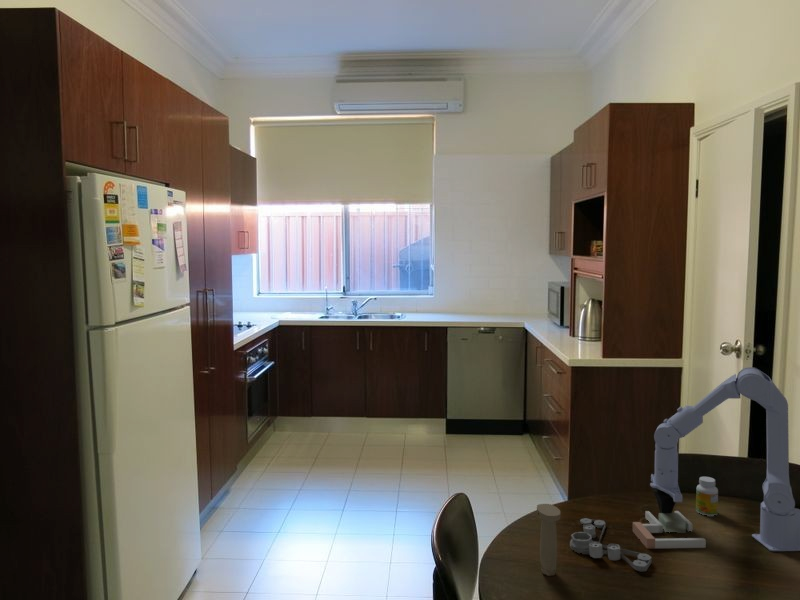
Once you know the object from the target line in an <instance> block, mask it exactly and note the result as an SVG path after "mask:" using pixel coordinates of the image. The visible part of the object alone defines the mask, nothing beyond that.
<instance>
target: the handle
mask: <svg viewBox="0 0 800 600" xmlns="http://www.w3.org/2000/svg"><path fill="white" fill-rule="evenodd" d="M536 515H537V517H538V518H539V519H540V520H541V521H540V535H539V537H540V538H539V539H540V541H539V558H540V559H539V560H540V561H539V562H540V566H541V568H540V569H541V573H542V574H543V575H546V576H547V577H551V576H555V575H556V569H557V563H558V540H557V539H558V538H557V522H559V520H561V510H560V509H559V508H558V507H557V506H555V505H553V504H551V503H540V504H537V505H536Z"/></svg>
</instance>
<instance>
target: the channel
mask: <svg viewBox="0 0 800 600" xmlns="http://www.w3.org/2000/svg"><path fill="white" fill-rule="evenodd" d="M673 513H678V514H679V515H680V516H681V517H682V518H683V519H684V520H685V521H686V531H687V532H689V531H691V532H693V526H694V525H693V523H692V522H691V521H690V520H689V519H688V518H687V517H685V516H684V515H683V514H682V513H681V512H680V511H679V510H674V512H673ZM644 516H645V517H644V518H645V520H646V521H647V520H648V521H649V522H648V523H642V525H643V526H644V527H645V528H646V529H647V530H648V531H649V532H650V533H651V534H662V533H664V530H663V525H662V524H661V523H660V522H659V519H658V518H656V517H655V516H654V514H653V513H652V512H650V511H649V510H645V515H644ZM706 543H707V540H706V539H705V538H704V537H687V538H685V537H679V538H677V537H676V538H675V537H673V538H668V537H667V538H666V537H665V538H655V548H654V549H706V548H707V547H706V546H707V545H706Z"/></svg>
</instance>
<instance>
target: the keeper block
mask: <svg viewBox="0 0 800 600" xmlns="http://www.w3.org/2000/svg"><path fill="white" fill-rule="evenodd" d="M658 521H659V522H660V523H661V524H662V525H663V529H664V530H663V532H665V533H666V532H669V533H670V532H677V534H678V533H679V534H680V533H681V534H686V533H687V529H686V521H685V520H684V519H683V518H682V517H681V516H680V515H679V514H678V513H674V512H672V513H660V512H659V513H658Z"/></svg>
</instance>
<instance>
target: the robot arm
mask: <svg viewBox="0 0 800 600" xmlns="http://www.w3.org/2000/svg"><path fill="white" fill-rule="evenodd" d="M741 396H743V397H745V398H747V399H748V400H749V399H750V400H751V401H755V402H756V403H757V404H759V405H760V406H761V407H762V408H763V409H765V413H766V414H765V415H766V419H765V421H766V422H765V423H766V424H765V425H766V426H765V427H766V478H765V480H764V482H763V483H762V486H761V488H762V492H763V501H762V502H760V518H759V519H760V522H759V533H753V534H751V537H752V538H754V539H755V540H756V541H757V542H759V543H760V544H761V545H762V546H763V547H765V548H766V549H768V551H770V552H800V509H799V508H796V507H795V506H796V501H795V498H794V496H793V490H792V489H793V488H792V486H791V483H790V471H789V469H790V467H789V466H790V464H789V463H790V461H789V460H790V455H789V451H790V450H789V445H790V444H789V442H790V440H789V404H788V400H787V398H786V397H785V395H784V394H783V392H782V391H780V389H779V388H778V387H777V385H776V384H775V382H773V380H772V379H771V377H770V376H769V375H767V374H766V373H764V372H763V371H761V369H758V368H757V367H752V366H751V367H750V366H749V367H744V368H742V369H740V371H738V373H737V374H736V373H733V375H731V376H729V377H728V378H726V379H725V380H724V381H722V382H721V383H720V384H719V385H717V386H716V387H715V388H714V389H713V390H711V391H710V392H709V393H708V394H707V395H706V396H704V397H703V398H702V399H701V400H699V401H698V402H697V403H696V404H694V405H685V406H684V407H682V406H679V407H678V408H677V409H676V411H677V412H676V413H674V415H671V416H670V417H669V418H665V419H664V420H663V422H662V423H660V424H659V425H658V426H657V428H656V430H655V431H654V433H653V434H654V435H653V438H654V442H655V446H654V448H655V450H654V474H653V473H651V475H650V481H651V482H650V483H649V486H650V487H651V488H652V492H653V494H654V497H655V499H656V502H657V506H658V508H659V509H658V510H659V513H673V510H674V508H675V506H676V503H683V494H682V493H681V490H680V486H679V482H678V481H679V480H678V479H679V453H678V443H679V439H682V438H685V437H686V436H687V435H689V434H690V433H691V432H693V431H694V430H695V429H697V428H698V427H700V426H701V425H702V424H703V423H704V417H703V416H705V415H707V414H708V413H710V412H711V411H712V410H714V409H716V408H717V407H718V406H720V405H721V404H722V403H724V402H726V401H727V400H728V399H732V400H733V399H734V400H735V399H741Z"/></svg>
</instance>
